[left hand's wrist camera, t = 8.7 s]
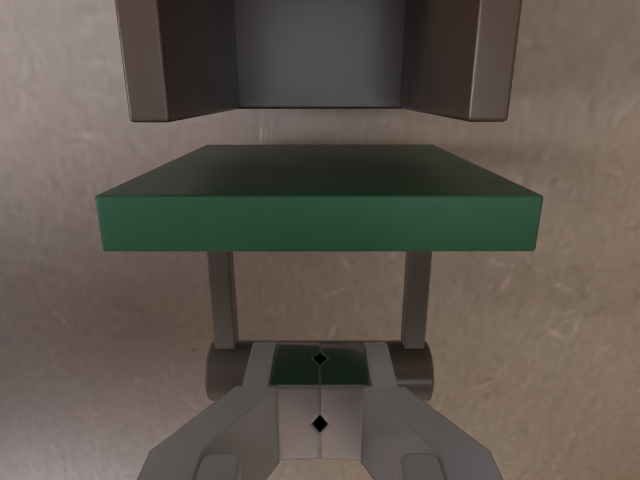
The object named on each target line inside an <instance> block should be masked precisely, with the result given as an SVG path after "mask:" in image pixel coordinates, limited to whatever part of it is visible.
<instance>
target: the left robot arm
mask: <svg viewBox="0 0 640 480" xmlns="http://www.w3.org/2000/svg"><path fill="white" fill-rule="evenodd" d="M300 459H339V460H361V463H362V464H363V466H364V467H365V468H366V470H367V471H368V472H369V474H370V475H371V476H372V478H373V479H374V480H503V478H502V476H501V474H500V471H499V469H498V467H497V465H496V463H495V460H494V458H493V456H492V454H491V452H490V451H489V450H487V449H486V448H485V447H484V446H482V445H481V444H480V443H478V442H477V441H476V440H474V439H473V438H472V437H470V436H469V435H468V434H466V433H465V432H464V431H462V430H461V429H460V428H459V427H457V426H456V425H455V424H453V423H452V422H451V421H449V420H448V419H447V418H445V417H444V416H443V415H441V414H440V413H439V412H437V411H436V410H435V409H434V408H432V407H431V406H430V405H428V404H427V403H426V402H424V401H423V400H422V399H420V398H419V397H418V396H416V395H415V394H414V393H412V392H411V391H410V390H409V389H407V388H406V387H404V386H398V384H397V380H396V377H395V373H394V369H393V365H392V361H391V357H390V353H389V349H388V345H387V343H386V342H364V343H328V344H320V343H297V342H277V343H276V342H255V343H254V344H253V345H252V349H251V353H250V357H249V361H248V365H247V369H246V372H245V376H244V380H243V384H242V386H236V387H234V388H233V389H231V390H230V391H229V392H228V393H226V394H225V395H224V396H222V397H221V398H220V399H218V400H217V401H216V402H214V403H213V404H212V405H210V406H209V407H208V408H206V409H205V410H204V411H202V412H201V413H200V414H198V415H197V416H196V417H194V418H193V419H192V420H191V421H189V422H188V423H187V424H185V425H184V426H183V427H181V428H180V429H179V430H177V431H176V432H175V433H173V434H172V435H171V436H169V437H168V438H167V439H165V440H164V441H163V442H161V443H160V444H159V445H157V446H156V447H155V448H153V449H152V450H151V451H150V452H149V454H148V456H147V459H146V461H145V463H144V465H143V467H142V470H141V472H140V474H139V476H138V478H137V480H266V479H267V478H268V477H269V475H270V474H271V473H272V471H273V470H274V469H275V468H276V466H277V465H278V464H279V460H300Z"/></svg>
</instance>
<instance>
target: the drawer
mask: <svg viewBox="0 0 640 480" xmlns="http://www.w3.org/2000/svg"><path fill="white" fill-rule="evenodd" d="M115 5H116V13H117V21H118V28H119V36H120V44H121V52H122V60H123V68H124V76H125V83H126V91H127V99H128V107H129V115H130V120H131V121H132V122H172V121H177V120H182V119H187V118H193V117H198V116H203V115H208V114H213V113H219V112H224V111H229V110H234V109H407V110H412V111H417V112H422V113H428V114H433V115H438V116H443V117H448V118H453V119H459V120H464V121H469V122H504V121H506V120H507V118H508V111H509V103H510V94H511V86H512V78H513V70H514V62H515V54H516V46H517V38H518V30H519V22H520V13H521V5H522V0H115ZM95 200H96V206H97V213H98V219H99V225H100V232H101V238H102V244H103V249H104V251H207V258H208V270H209V282H210V294H211V306H212V318H213V330H214V342H213V343H212V344H211V346H210V349H209V352H208V357H207V363H206V391H207V395H208V398H209V399H210V400H212V401H217V400H218V399H220V398H221V397H222V396H224V395H225V394H226V393H228V392H229V391H230V390H231V389H233V388H234V387H236V386H242V384H243V380H244V376H245V372H246V369H247V365H248V361H249V357H250V353H251V349H252V345H253V344H254V343H255V342H276V343H277V342H297V343H320V344H328V343H364V342H386V343H387V345H388V349H389V353H390V357H391V361H392V365H393V369H394V373H395V377H396V380H397V384H398V386H404V387H406V388H407V389H409V390H410V391H411V392H412V393H414V394H415V395H416V396H418V397H419V398H420V399H422V400H423V401H428V400H430V399H431V396H432V392H433V385H434V370H433V361H432V355H431V351H430V348H429V345H428V344H427V342H426V341H425V333H426V320H427V308H428V295H429V283H430V270H431V258H432V251H534V250H535V247H536V240H537V234H538V227H539V221H540V214H541V208H542V202H543V196H542V195H540V194H538V193H535V192H533V191H531V190H529V189H527V188H525V187H523V186H520V185H518V184H516V183H514V182H512V181H510V180H507V179H505V178H503V177H501V176H499V175H497V174H495V173H492V172H490V171H488V170H486V169H484V168H482V167H479V166H477V165H475V164H473V163H471V162H469V161H467V160H464V159H462V158H460V157H458V156H456V155H454V154H451V153H449V152H447V151H445V150H443V149H441V148H439V147H436V146H434V145H206V146H204V147H202V148H200V149H197V150H195V151H193V152H191V153H189V154H186V155H184V156H182V157H180V158H178V159H176V160H173V161H171V162H169V163H167V164H165V165H162V166H160V167H158V168H156V169H154V170H152V171H149V172H147V173H145V174H143V175H141V176H138V177H136V178H134V179H132V180H130V181H128V182H125V183H123V184H121V185H119V186H117V187H114V188H112V189H110V190H108V191H106V192H104V193H101V194H99V195H97V196H96V198H95ZM233 251H406V261H405V278H404V294H403V310H402V326H401V341H238V339H239V337H238V322H237V306H236V291H235V275H234V260H233Z"/></svg>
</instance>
